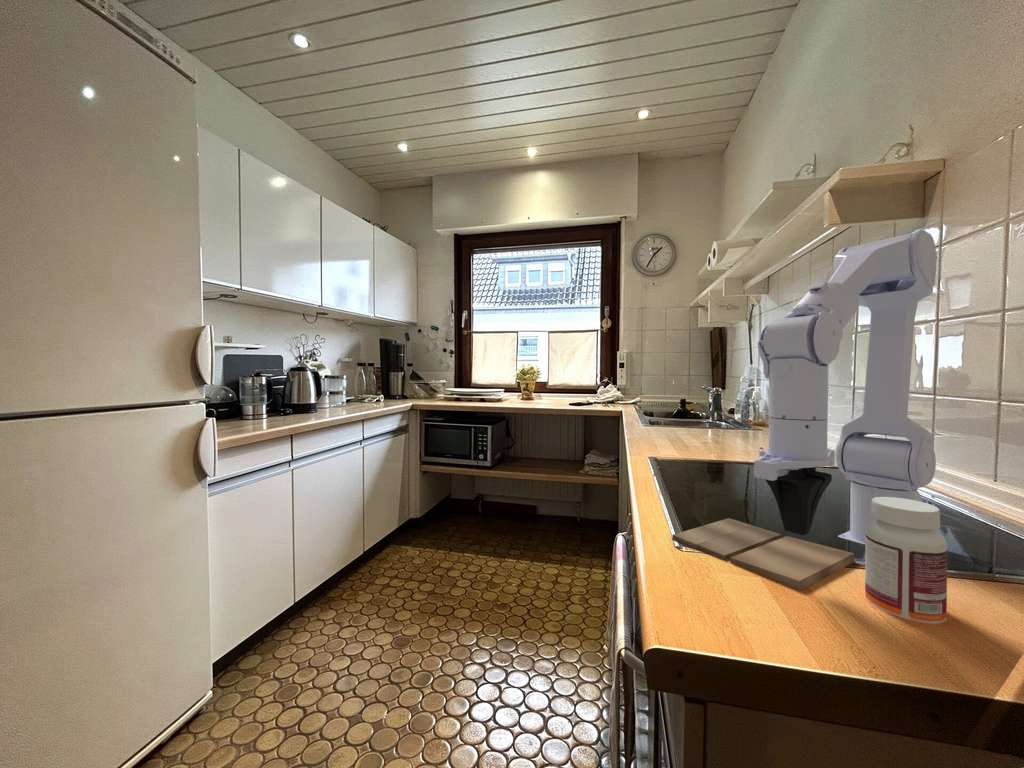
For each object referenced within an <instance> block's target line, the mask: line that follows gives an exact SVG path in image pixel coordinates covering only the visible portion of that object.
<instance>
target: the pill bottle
mask: <svg viewBox="0 0 1024 768" xmlns="http://www.w3.org/2000/svg"><path fill="white" fill-rule="evenodd" d="M871 515H872V516H873V517H874V518H876V519H878V520H875V521H872V522H870V523H869V524H868V525H867V527H866V532H865V534H866V545H865V546H864V547H865V551H864V552H865V554H864V555H865V559H864V560H865V562H864V564H865V565H864V566H865V567H864V570H865V571H864V573H865V574H864V591H865V592H864V594H865V598H866V600H867V601H868V602H869V603H870V604H871V605H872V606H873V607H876V608H878V609H879V610H881V611H883V612H886V613H888V614H890V615H893V616H895V617H899V618H902V619H905V620H909V621H913V622H918V623H922V624H923V623H924V624H942V623H945V622H946V621H947V618H948V617H947V615H948V614H947V613H948V611H947V608H948V607H947V605H948V590H947V589H948V549H949V548H948V543H947V539H945V537H944V535H942V534H941V533H939V532H938V531H936V530H938V529H939V528H941V510H940V508H938V507H937V506H935V505H934V504H930V503H927V502H920V501H915V500H910V499H903V498H895V497H875V498H873V499H872V505H871Z"/></svg>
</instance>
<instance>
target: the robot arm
mask: <svg viewBox="0 0 1024 768" xmlns="http://www.w3.org/2000/svg"><path fill="white" fill-rule="evenodd" d="M937 253H938V252H937V249H936V243H935V239H934V237H933V236H932V235H931V233H930V232H927V231H926V230H925V229H918V230H916V231H915V230H914V232H911V233H905V234H903V235H898V236H893V237H889V238H885V239H880V240H876V241H872V242H868V243H864V244H863V243H862V244H860V245H855V246H851V247H849V246H846V247H843V248H841V249H840V250H839V251H838V253H837V254H836V255H835V256H834V262H833V274H832V276H831V277H830V278H829V279H828V281H827V282H826V281H824V282H823V281H822V282H817V283H813V284H812V285H811V286H810V287H809V288H808V292H807V293H806V294H805V295H804V296H803V297H802V298H801V299H800V300H799V301H798V303H796V305H795V306H794V307H793V308H792V309H791V310H790V311H789V312H788V313H787V314H786V315H785V316H784V318H777V319H772V320H771V321H770V322H769V323H768V324H767V325H765V326H764V327H763V328H762V330H761V332H760V335H759V340H758V341H757V350H758V355H759V357H760V359H761V362H762V363H763V375H764V378H765V379H766V380H768V448H767V449H760V450H759V451H758V455H759V457H761V458H758V459H755V460H754V462H753V463H754V470H753V471H754V473H753V475H754V478H755V479H756V478H757V479H760V480H761V479H762V480H765V482H766V483H767V485H768V486H769V488H770V490H771V492H772V494H773V496H774V499H775V501H776V505H777V508H778V511H779V514H780V519H781V523H782V527H783V529H784V531H786V532H790V533H792V534H796V535H800V536H805V535H808V534H809V532H810V530H811V527H812V525H813V521H814V518H815V515H816V511H817V507H818V505H819V502H820V500H821V498H822V496H823V495H824V492H825V491H826V490H827V487H828V486H829V485H830V484H831V482H832V481H833V477H832V476H833V475H832V474H831V473H828V472H824V471H817V468H824V467H833V466H835V463H836V466H837V468H838V469H839V471H840V472H841V473H842V474H843V475H845V480H849V481H850V487H849V488H850V489H849V490H850V494H849V495H850V501H849V503H850V504H849V507H850V508H849V510H850V511H849V513H850V514H849V530H848V531H846V532H843V533H842V534H839V535H837V537H839V538H841V539H844V540H847V541H850V542H851V541H852V542H854V543H858V544H861V545H865V546H866V534H865V532H866V527H867V525H868V524H869V523H870V522H872V521H875V520H878V519H876V518H874V517H873V516H872V515H871V505H872V499H873V498H875V497H895V498H903V499H910V500H915V501H920V502H923V501H924V500H923V497H922V496H921V494H920V492H919V491H918V489H920V488H925V487H926V486H927V485H929V484H931V483H932V481H933V479H934V477H935V472H936V468H937V467H936V466H937V461H936V460H937V459H936V457H937V456H936V453H935V450H934V448H935V447H934V437H933V435H932V433H931V432H930V431H929V430H928V429H927V428H926V427H923V426H922V425H921V424H918V423H917V422H916V421H914V420H913V419H911V418H909V417H908V412H909V411H908V410H909V399H910V387H911V386H910V385H911V384H910V383H911V371H912V361H913V360H912V359H913V344H914V334H915V333H914V332H915V320H916V319H915V318H916V313H917V309H918V304H919V302H920V301H921V300H923V299H926V298H927V297H929V296H930V295H932V294H933V293H934V286H935V285H936V276H937V274H936V273H937V262H938V260H937V259H938V254H937ZM859 307H865V308H868V309H869V311H870V322H869V332H868V343H867V345H868V346H867V358H866V370H865V379H864V381H865V382H864V392H863V393H864V394H863V408H862V414H860V415H859V416H857V417H855V418H853V419H852V420H850V421H848V422H847V423H845V424H843V425H842V428H841V429H840V435H839V438H838V442H837V443H836V446H835V449H834V450H833V449H828V418H829V417H828V413H829V412H828V410H829V409H828V407H829V405H828V404H829V403H828V399H829V392H828V391H829V387H828V385H829V378H828V377H829V364H831V363H833V362H834V361H835V360H836V359H837V357H838V354H839V351H840V345H841V340H842V339H843V335H844V331H843V329H844V328H845V327H846V326H847V324H848V323H849V322H850V321H851V319H852V318H853V317H854V315H855V314H856V313H857V312H858V309H859ZM867 435H878V436H890V437H899V438H905V439H907V440H903V439H896V438H895V439H893V438H883V437H875V436H867Z"/></svg>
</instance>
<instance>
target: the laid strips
mask: <svg viewBox="0 0 1024 768" xmlns="http://www.w3.org/2000/svg"><path fill="white" fill-rule="evenodd" d="M671 536H672V537H671V539H672V540H673V541H676V542H678V543H681V544H683V545H685V546H689V547H690V548H693V549H696V550H697V551H700V552H703V553H705V554H707V555H710V556H713V557H715V558H718V559H720V560H722V561H726V560H729V559H730V558H731V557H733V556H736V555H739V554H741V553H744V552H746V551H749V550H752V549H754V548H757V547H759V546H762V545H765V544H767V543H770V542H773V541H775V540H778V539H780V538H782V534H781V533H779V532H776V531H771V530H768V529H766V528H762V527H759V526H755V525H751V524H749V523H746V522H744V521H743V522H742V521H739V520H737V519H734V518H733V519H732V518H729V517H728V518H725V519H721V520H718V521H715V522H711V523H708V524H705V525H701V526H698V527H694V528H691V529H687V530H684V531H680V532H677V533H674V534H672V535H671Z"/></svg>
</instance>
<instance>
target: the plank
mask: <svg viewBox="0 0 1024 768" xmlns="http://www.w3.org/2000/svg"><path fill="white" fill-rule="evenodd" d="M729 559H730V562H729V563H730V564H733V565H734V566H737V567H740V568H742V569H745V570H747V571H750V572H753V573H755V574H757V575H759V576H762V577H765V578H767V579H769V580H772V581H775V582H777V583H780V584H781V585H784V586H787V587H790V588H792V589H794V590H796V591H799V592H801V591H803V590H805V589H806V588H808V587H810V586H812V585H814V584H815V583H818V582H819V581H821V580H823V579H825V578H827V577H829V576H830V575H833V574H835V573H836V572H838V571H840V570H842V569H844V568H846V567H848V566H849V565H852V564H854V563H855V553H854V552H851V551H848V550H843V549H838V548H835V547H830V546H827V545H824V544H818V543H815V542H811V541H807V540H803V539H799V538H797V537H793V536H789V535H786V536H783V537H781V538H780V539H778V540H775V541H773V542H770V543H767V544H765V545H762V546H759V547H757V548H754V549H752V550H749V551H746V552H744V553H741V554H739V555H736V556H733V557H731V558H729Z"/></svg>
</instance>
